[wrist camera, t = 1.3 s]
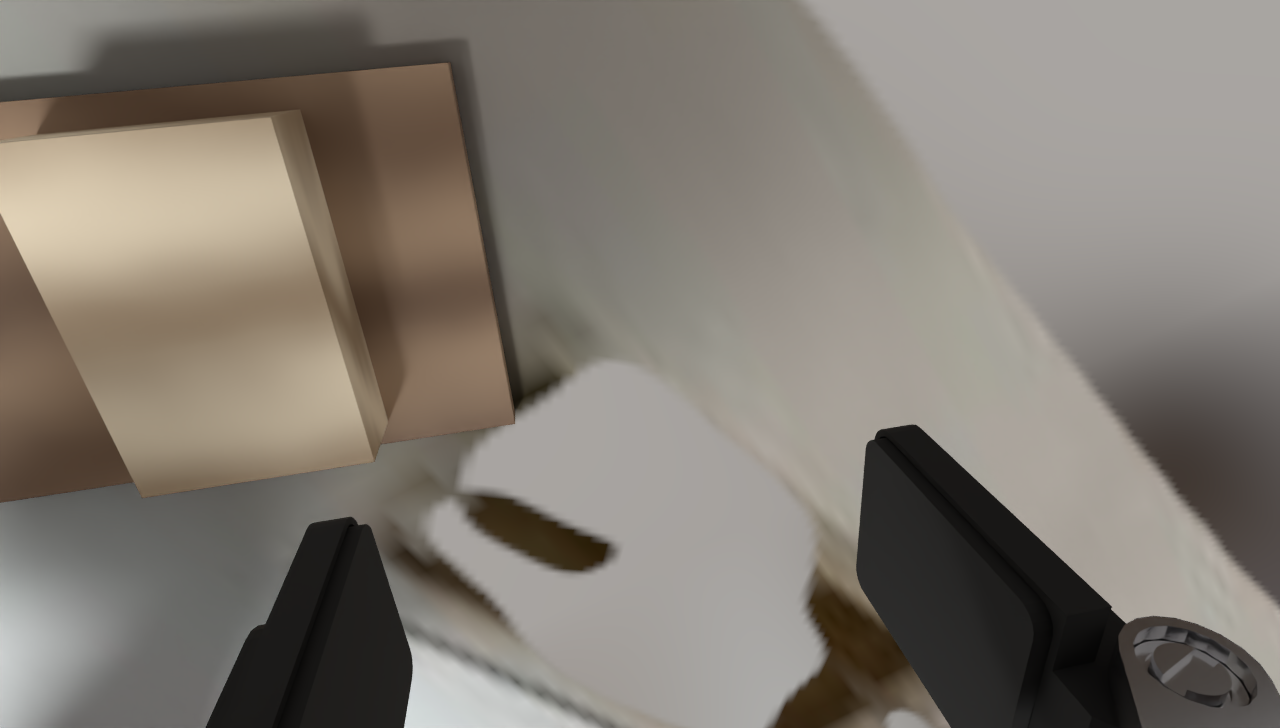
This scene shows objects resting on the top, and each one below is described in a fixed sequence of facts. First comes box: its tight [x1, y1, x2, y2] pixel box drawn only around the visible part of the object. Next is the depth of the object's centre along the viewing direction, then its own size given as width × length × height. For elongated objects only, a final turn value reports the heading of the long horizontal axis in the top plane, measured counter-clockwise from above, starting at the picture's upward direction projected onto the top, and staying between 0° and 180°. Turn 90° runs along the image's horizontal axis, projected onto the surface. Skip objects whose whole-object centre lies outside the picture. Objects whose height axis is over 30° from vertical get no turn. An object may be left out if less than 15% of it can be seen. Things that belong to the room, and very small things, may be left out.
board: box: [0, 62, 515, 503], centre depth 22 cm, size 14×26×7 cm, turn 95°
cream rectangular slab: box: [0, 109, 388, 498], centre depth 23 cm, size 12×8×3 cm, turn 5°
